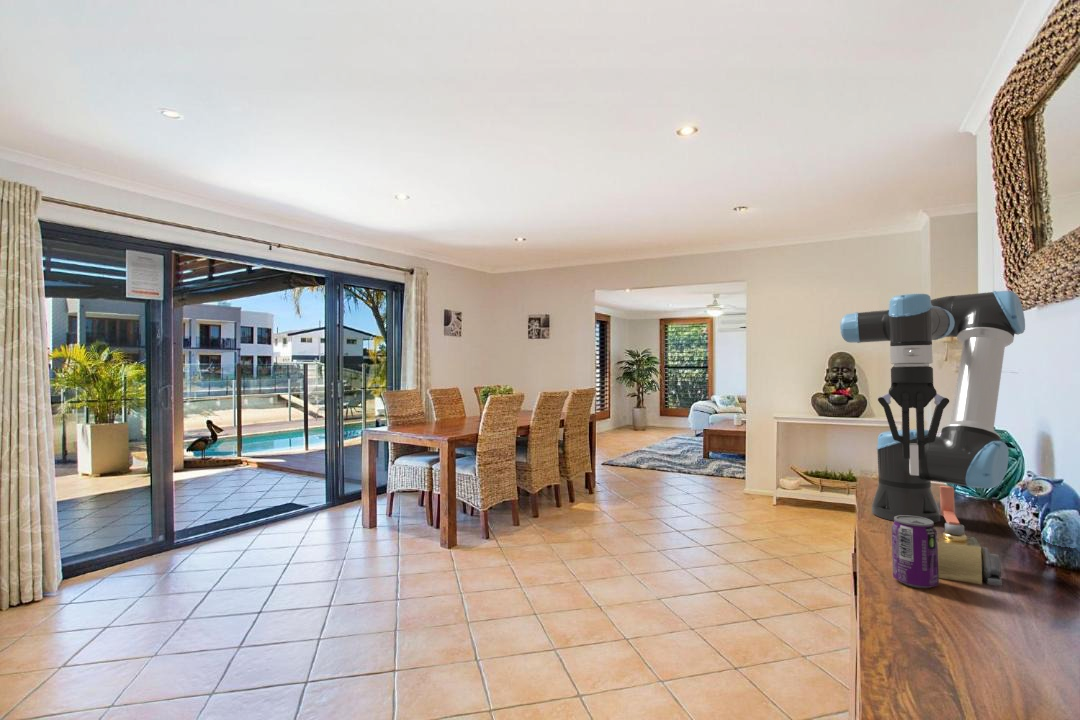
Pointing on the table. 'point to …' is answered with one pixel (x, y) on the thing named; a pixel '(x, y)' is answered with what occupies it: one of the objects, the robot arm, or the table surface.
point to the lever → (949, 511)
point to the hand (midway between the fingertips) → (914, 474)
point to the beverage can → (915, 551)
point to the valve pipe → (966, 560)
